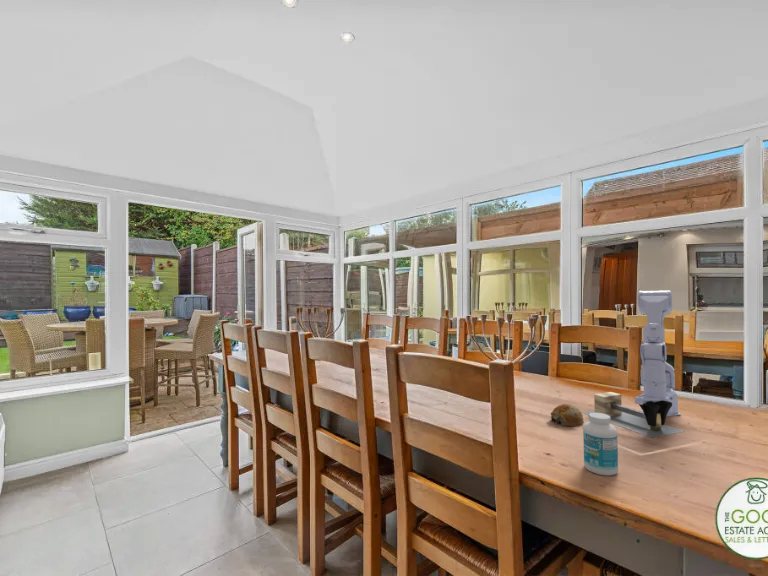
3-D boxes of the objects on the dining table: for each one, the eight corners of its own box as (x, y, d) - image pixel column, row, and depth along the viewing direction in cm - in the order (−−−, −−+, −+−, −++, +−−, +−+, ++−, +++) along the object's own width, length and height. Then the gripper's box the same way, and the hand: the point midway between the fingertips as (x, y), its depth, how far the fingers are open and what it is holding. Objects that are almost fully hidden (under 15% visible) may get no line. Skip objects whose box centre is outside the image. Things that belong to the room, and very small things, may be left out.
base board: (610, 409, 142) (610, 407, 142) (685, 433, 117) (685, 431, 117) (581, 414, 137) (581, 412, 137) (652, 439, 113) (652, 437, 113)
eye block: (611, 411, 138) (611, 391, 138) (621, 414, 134) (621, 394, 134) (594, 413, 135) (594, 394, 136) (604, 417, 132) (603, 396, 132)
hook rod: (616, 414, 134) (615, 399, 134) (663, 429, 118) (663, 413, 118) (609, 415, 133) (609, 400, 133) (656, 430, 117) (656, 414, 117)
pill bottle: (577, 464, 98) (576, 411, 98) (605, 462, 99) (603, 410, 99) (596, 478, 91) (594, 420, 91) (625, 476, 91) (624, 419, 91)
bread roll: (582, 439, 124) (593, 417, 123) (551, 424, 125) (562, 402, 125) (573, 428, 133) (583, 408, 133) (545, 415, 135) (554, 394, 135)
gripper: (650, 386, 113) (651, 432, 113) (684, 381, 117) (685, 425, 117) (628, 381, 120) (629, 424, 119) (661, 377, 124) (662, 418, 124)
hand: (655, 424), depth 119 cm, fingers closed on hook rod, 3 cm apart
